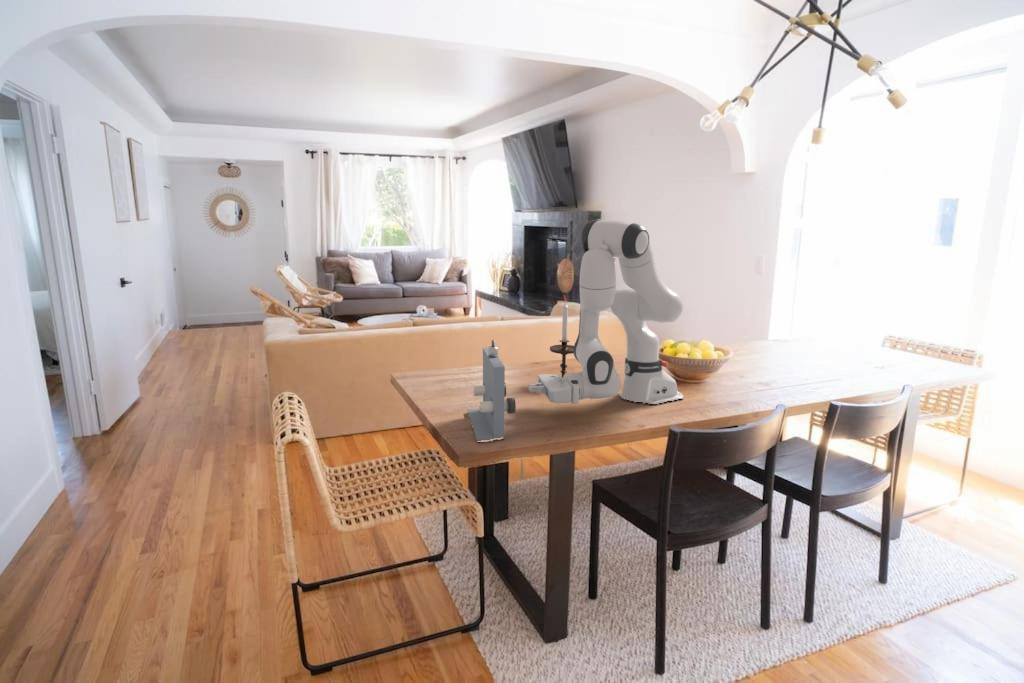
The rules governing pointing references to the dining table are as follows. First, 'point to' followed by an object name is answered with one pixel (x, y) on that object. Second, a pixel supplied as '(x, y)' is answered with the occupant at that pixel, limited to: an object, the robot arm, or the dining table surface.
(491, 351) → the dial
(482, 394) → the knob
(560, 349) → the candlestick
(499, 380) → the mount
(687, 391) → the dining table surface
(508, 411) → the knob
